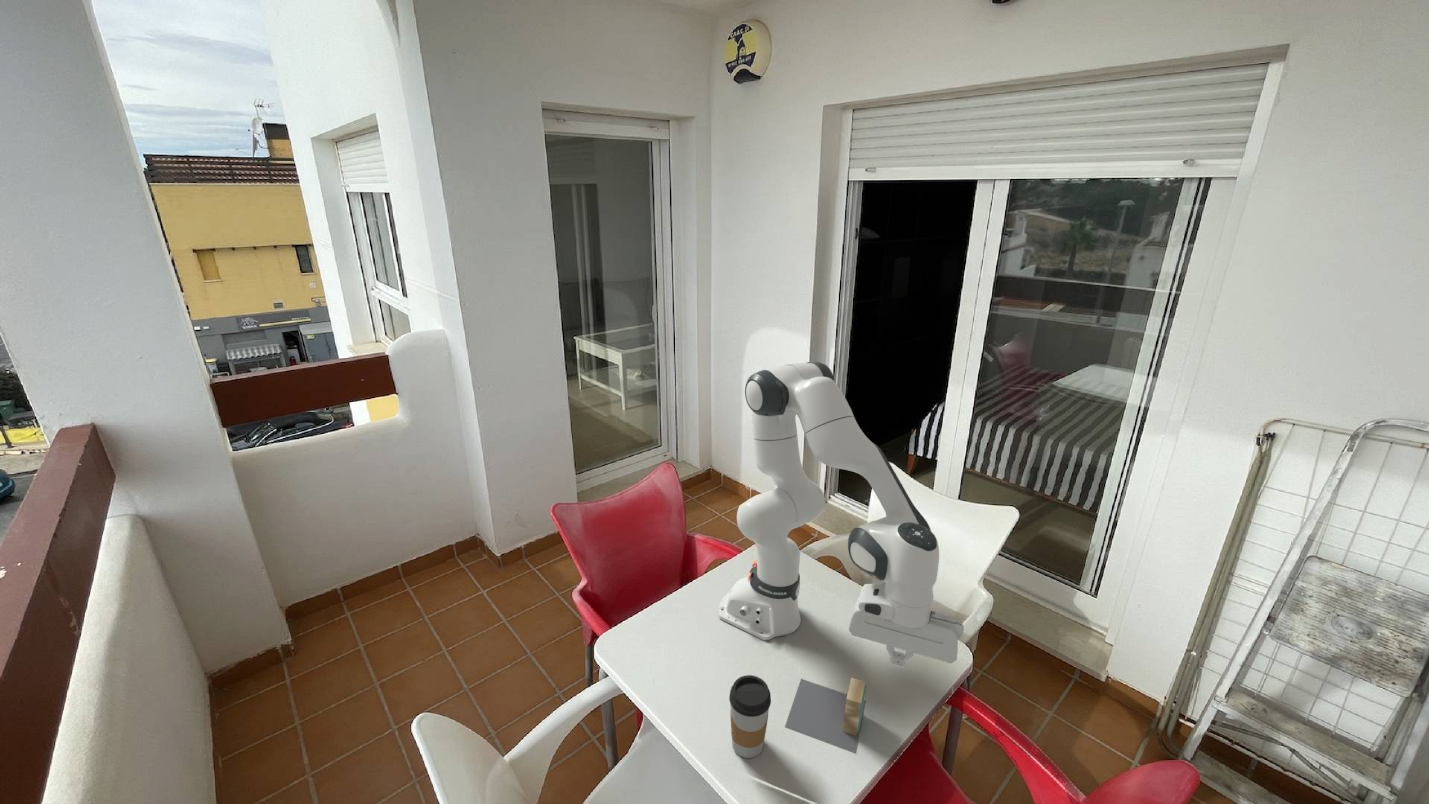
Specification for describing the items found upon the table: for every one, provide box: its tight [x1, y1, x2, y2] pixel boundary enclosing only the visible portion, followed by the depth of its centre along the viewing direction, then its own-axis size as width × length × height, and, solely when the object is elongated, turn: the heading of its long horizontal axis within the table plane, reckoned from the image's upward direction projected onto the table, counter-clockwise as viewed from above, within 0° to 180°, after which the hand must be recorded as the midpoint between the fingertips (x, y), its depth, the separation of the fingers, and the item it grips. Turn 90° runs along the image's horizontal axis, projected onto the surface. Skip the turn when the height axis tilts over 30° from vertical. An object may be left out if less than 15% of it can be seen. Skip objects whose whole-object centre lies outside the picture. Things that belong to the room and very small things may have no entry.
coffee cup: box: [728, 674, 772, 759], centre depth 110 cm, size 8×8×15 cm
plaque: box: [842, 677, 867, 736], centre depth 116 cm, size 3×6×9 cm, turn 157°
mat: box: [784, 678, 866, 754], centre depth 120 cm, size 15×14×1 cm
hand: (897, 662), depth 109 cm, fingers closed
